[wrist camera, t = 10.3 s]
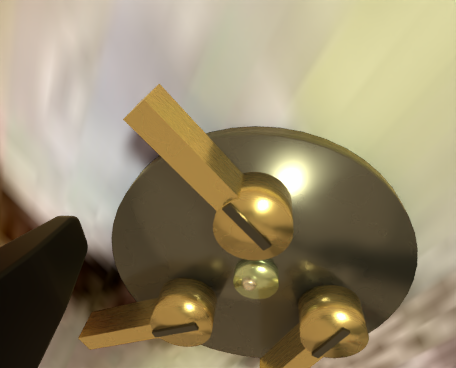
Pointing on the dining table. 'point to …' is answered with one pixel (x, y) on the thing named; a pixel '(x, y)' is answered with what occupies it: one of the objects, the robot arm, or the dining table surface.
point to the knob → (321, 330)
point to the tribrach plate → (284, 262)
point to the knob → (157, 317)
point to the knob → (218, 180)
